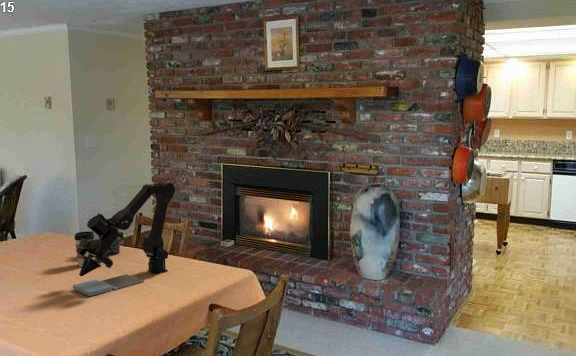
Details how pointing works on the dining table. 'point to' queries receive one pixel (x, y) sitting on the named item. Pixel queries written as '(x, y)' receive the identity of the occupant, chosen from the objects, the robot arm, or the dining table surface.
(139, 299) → the dining table surface
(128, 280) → the plate
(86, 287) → the grey rectangular slab
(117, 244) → the storage jar
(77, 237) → the coffee cup
